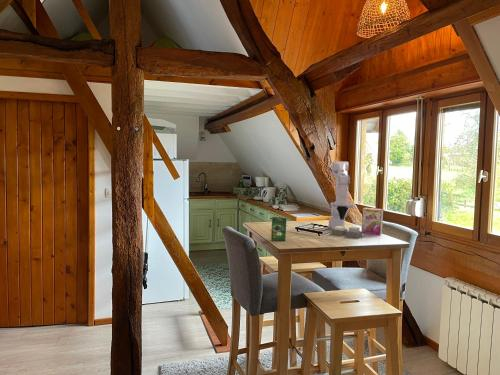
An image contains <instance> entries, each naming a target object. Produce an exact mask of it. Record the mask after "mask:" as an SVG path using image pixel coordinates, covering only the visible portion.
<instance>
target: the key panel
mask: <svg viewBox="0 0 500 375" xmlns="http://www.w3.org/2000/svg"><path fill="white" fill-rule="evenodd" d="M329 236H335V237H341V238H342V237H343V238H348V239H353V240H359V239H363V238H365V236H364V235H363V233H362V230H360V231H359V232H358V233H354V232H349V228H348V229H347V228H345V230H342V231H341V230H334V229H331V233H329Z"/></svg>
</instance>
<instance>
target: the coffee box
mask: <svg viewBox="0 0 500 375" xmlns="http://www.w3.org/2000/svg"><path fill="white" fill-rule="evenodd" d="M286 233H287V217H286V216H285V217H284V216H272V218H271V233H270V234H271V236H270V238H271V240H270V241H273V242H274V241H277V242H278V241H280V242H285V241H286V235H287V234H286Z"/></svg>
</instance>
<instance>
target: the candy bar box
mask: <svg viewBox="0 0 500 375" xmlns="http://www.w3.org/2000/svg"><path fill="white" fill-rule="evenodd" d="M361 214H362V215H361V231H362V234H364V235H365V234H366V235H375V236H381V235H382V234H383V220H384V219H383V218H384V209H382V208H371V207H363V208H362V212H361Z"/></svg>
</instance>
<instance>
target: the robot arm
mask: <svg viewBox="0 0 500 375" xmlns="http://www.w3.org/2000/svg"><path fill="white" fill-rule="evenodd" d="M331 164H332V165H331V174H332V175H333V176H334V178H335V201H334V202H330V204H329V205H330V207H331V208H330V216H329V218H328V229H331V230H332V229H334V228H335V227H336V226H341V227H345V223H346V218H347V217H348V213H349V212H348V211H349V209H356V204H351V203H348V202H349V186H350V183H351V182H350V180H351V178H350V175H349V165H350V164H349V161H338V160H337V161H332V163H331ZM345 228H346V227H345Z"/></svg>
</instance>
